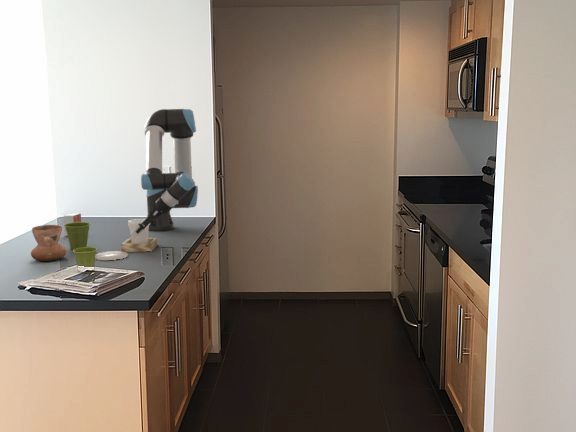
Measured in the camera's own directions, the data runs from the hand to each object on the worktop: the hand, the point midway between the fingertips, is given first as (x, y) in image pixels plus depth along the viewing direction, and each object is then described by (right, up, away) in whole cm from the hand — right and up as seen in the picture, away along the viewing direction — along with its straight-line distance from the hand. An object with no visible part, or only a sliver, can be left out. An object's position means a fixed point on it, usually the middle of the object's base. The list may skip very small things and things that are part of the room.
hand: (135, 234), depth 308 cm
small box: (-40, -1, +35) cm, 53 cm away
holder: (+2, -6, +1) cm, 7 cm away
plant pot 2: (-11, -14, -38) cm, 42 cm away
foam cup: (+2, -7, +1) cm, 7 cm away
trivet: (-7, -9, -15) cm, 19 cm away
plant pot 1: (-27, -7, +3) cm, 28 cm away
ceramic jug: (-33, -10, -17) cm, 39 cm away
